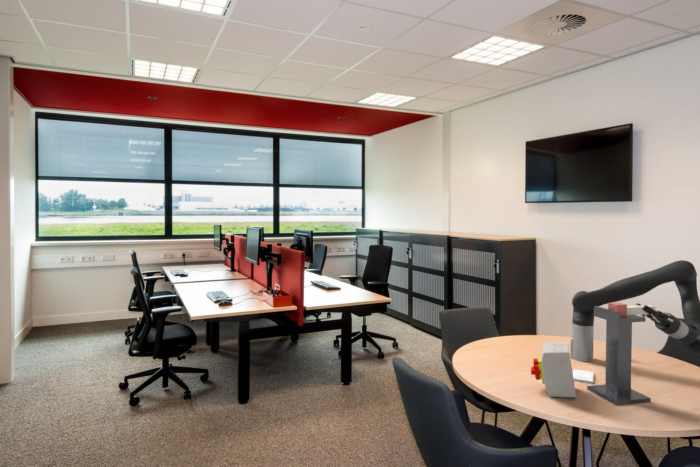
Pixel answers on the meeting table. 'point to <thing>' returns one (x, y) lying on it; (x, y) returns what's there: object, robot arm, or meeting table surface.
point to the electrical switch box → (555, 370)
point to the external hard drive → (583, 376)
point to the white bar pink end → (628, 309)
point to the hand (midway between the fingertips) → (640, 306)
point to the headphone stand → (618, 359)
